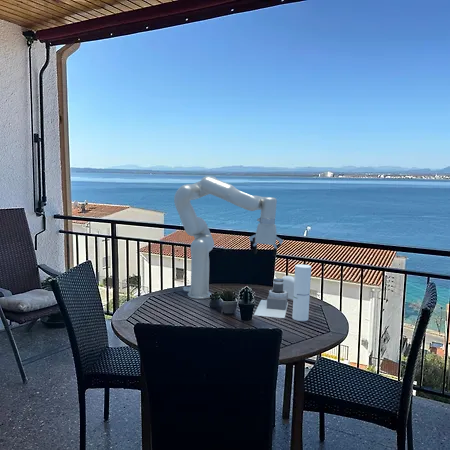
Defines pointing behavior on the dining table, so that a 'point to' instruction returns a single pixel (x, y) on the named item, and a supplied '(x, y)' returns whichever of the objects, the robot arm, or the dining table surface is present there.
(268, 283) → the dining table surface
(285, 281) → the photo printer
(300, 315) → the cylindrical container
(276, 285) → the lens
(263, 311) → the board
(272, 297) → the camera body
